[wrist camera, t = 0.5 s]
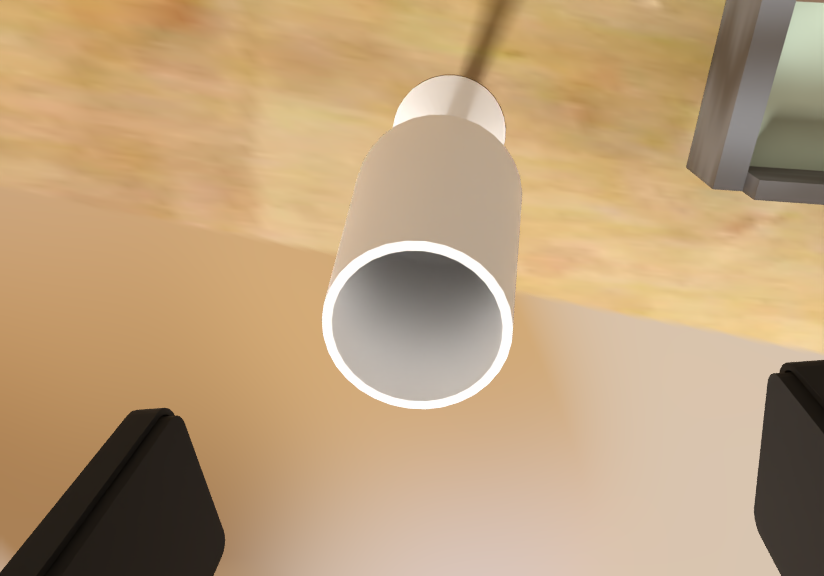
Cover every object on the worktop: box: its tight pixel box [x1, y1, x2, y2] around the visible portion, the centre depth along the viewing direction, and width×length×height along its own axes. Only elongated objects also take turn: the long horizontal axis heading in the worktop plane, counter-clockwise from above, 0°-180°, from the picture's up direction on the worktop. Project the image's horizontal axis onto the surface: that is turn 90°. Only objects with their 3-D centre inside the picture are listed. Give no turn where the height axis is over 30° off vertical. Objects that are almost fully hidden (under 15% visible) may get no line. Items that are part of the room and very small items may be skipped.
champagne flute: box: [322, 75, 522, 409], centre depth 26 cm, size 7×7×24 cm
